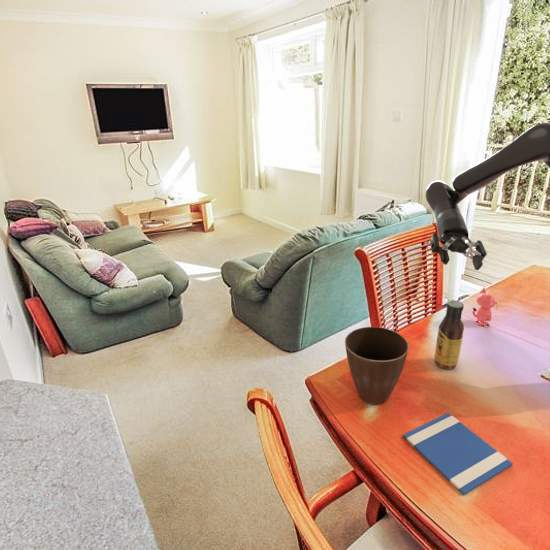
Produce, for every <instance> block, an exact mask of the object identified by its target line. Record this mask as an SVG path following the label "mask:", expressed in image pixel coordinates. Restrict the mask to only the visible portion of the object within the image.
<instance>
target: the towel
mask: <svg viewBox="0 0 550 550" xmlns="http://www.w3.org/2000/svg"><path fill="white" fill-rule="evenodd" d="M402 437H403V438H404V439H405V441H407V442H408V444H410V445H411V446H412V447H413V448H414V450H416V451H417V452H418V453H419V454H420V455H421V456H422V457H423V458H424V459H425V460H426V461H427V462H429V463H430V464H431V466H433V467H434V468H435V469H436V470H437V471H438V472H439V473H440V474H441V475H442V476H443V477H444V478H445V479H446V480H447V481H448V482H449V483H450V484H451V485H452V486H453V487H454V488H455V489H456V490H457V491H458V492H460V494H462V495H463V496H465V495H467V494H469V493H470V492H472V491H473V490H475V489H477V488H478V487H479V486H481V485H483V484H485V483H486V482H488V481H490V480H491V479H493V478H494V477H496V476H498V475H499V474H501V473H502V472H504V471H505V470H508V468H511V467H512V466H513V462H512V461H511V460H510V459H508V458H507V457H506V456H505V455H503V454H502V453H501V452H500V451H498V450H497V449H495V448H494V447H493V446H491V445H490V444H489V443H488V442H487V441H485V440H484V439H482V438H481V437H480V436H479V435H477V434H476V433H475V432H473V431H472V430H471V429H469V427H467V426H466V425H464V424H463V423H462V422H460V420H458V419H457V418H456V417H455V416H453V415H452V414H451V413H449V412H447V413H445V414H443V415H441V416H438V417H437V418H434V419H433V420H431V421H428V422H427V423H424V424H422V425H420V426H419V427H416V428H414V429H411V430H410V431H408V432H406V433H404V434H403V435H402Z"/></svg>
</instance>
